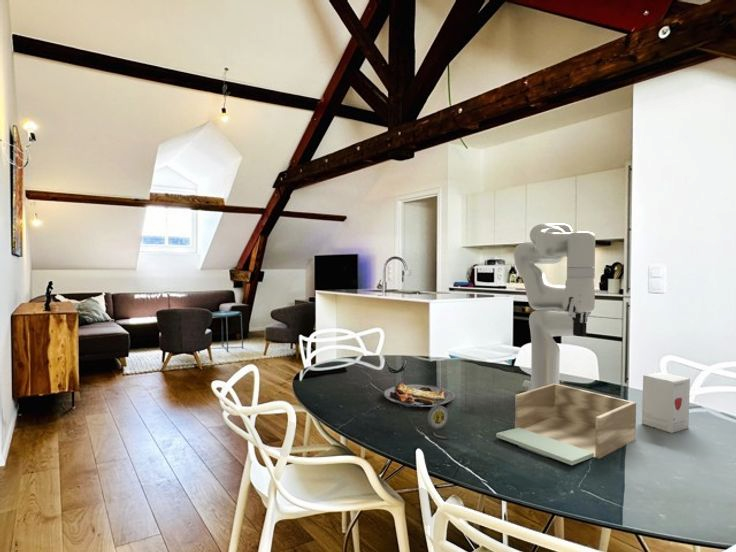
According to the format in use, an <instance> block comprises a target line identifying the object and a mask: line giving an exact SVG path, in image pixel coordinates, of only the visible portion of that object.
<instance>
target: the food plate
mask: <svg viewBox="0 0 736 552" xmlns="http://www.w3.org/2000/svg"><path fill="white" fill-rule="evenodd" d="M382 393H383V397H384V398H385V399H387V400H389V401H390V402H394V403H397V404H400V405H402V406H403V407H406V408H408V407H414V408H417V407H420V408H423V407H424V408H425V407H426V408H427V407H430V408H433V407H435V406H437V403H435V402H438V400H440V401H441V399H442V401H441V402H440V404H439V405H444V404H447V403H450V402H451V401H453V400H454V399H455V398H456V395H455V393H454V392H453V391H451V390H449V389H446V388H443V387H441V386H437V385H429V384H404V383H403V382H398V384H397V386H391V387H389V388H386V389H385V390H384V391H383V392H382ZM436 397H440V398H441V399H440V398H436ZM435 398H436V399H435ZM434 399H435V402H434ZM424 403H425V404H426V403H427V405H425V404H424ZM414 404H416V405H414ZM420 404H421V405H420ZM431 404H432V405H431Z"/></svg>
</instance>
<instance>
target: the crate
mask: <svg viewBox="0 0 736 552" xmlns="http://www.w3.org/2000/svg"><path fill="white" fill-rule="evenodd" d="M514 398H515V401H514V402H515V404H514V405H515V406H514V409H515V410H514V411H515V412H514V416H515V417H514V428H518V427H519V428H522V429H525V430H528V431H531V432H534V433H537V434H540V435H543V436H546V437H549V438H551V439H554V440H557V441H560V442H563V443H566V444H569V445H572V446H575V447H578V448H581V449H584V450H587V451H590V452H593V453H594V457H593V458H596V459H598V460H599V459H601V458H603V457H605V456H607V455H609V454H611V453H613V452H615V451H617V450H618V449H620V448H622V447H624V446H626V445H627V444H629V443H631V442H632V441H634V440H636V432H637V431H636V430H637V429H636V424H637V402H635V401H632V400H627V399H623V398H618V397H614V396H610V395H605V394H601V393H597V392H592V391H588V390H585V389H580V388H575V387H571V386H567V385H563V384H560V383H559V384H555V383H553V384H550V385H547V386H543V387H540V388H537V389H533V390H530V391H528V390H526V391H525V392H520V393H517V394H515V397H514Z"/></svg>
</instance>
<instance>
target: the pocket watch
mask: <svg viewBox="0 0 736 552" xmlns="http://www.w3.org/2000/svg"><path fill="white" fill-rule="evenodd" d="M436 398H440V397H436ZM436 398H435V399H436ZM435 399H434V402H435ZM440 399H441V398H440ZM441 402H442V399H441V400H440V401H439V400H438V402H435V403H437V406H434V407H431V408H430V410H429V412H428V414H427V421H428V425H429V426H430V427H431V428H433V429H434V431H437V430H440V429H443V427H445V425H447V422H448V420H449V411H448V410H447V408H446V407H444V406H443V405H441V404H440V403H441ZM432 434H433V436H434V437H436V438H438V439H442V440H449V437H452V436H449V437H447V436H443V435H441V434H438V433H436V432H432Z"/></svg>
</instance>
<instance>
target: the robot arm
mask: <svg viewBox="0 0 736 552" xmlns="http://www.w3.org/2000/svg"><path fill="white" fill-rule="evenodd" d="M529 239H530V241H525V242H521V243H519V244H517V246H516V247H515V248H514V252H513V259H514V263H515V267H516V269H517V272H518V273H519V276H520V277H521V279H522V281H523V284H524V285H523V286H524V289H525V290H524V291H525V293H526V298H527V302H528V305H529V307H530V308H531V309H533V310H534V311H532V312H531V313H530V314H529V316H528V317H529V318H528V325H529V329H530V330H529V331H530V340H531V341H530V343H531V346H530V347H531V349H530V350H531V352H530V353H531V354H530V355H531V359H530V360H531V367H530V370H531V371H530V380H523V381H522V387H525V388H528V389H527V391H530V390H533V389H537V388H540V387H543V386H547V385H550V384H553V383H555V384H559V385H560V372H561V371H560V365H561V364H560V360H561V359H560V356H561V353H560V352H561V350H560V346H559V344H558V343H557V342H556V341H555V339H554V337H573V336H574V337H575V336H578V337H585V336H587V322H588V319H589V317H588V316H590V315H591V314H592V311H594V310H595V304H596V301H595V299H596V298H595V297H596V295H595V282H594V280H595V277H596V276H595V275H596V274H595V273H596V272H595V271H596V234H595V233H593V232H590V231H573V229H572V227H571V226H570V225H569V224H566V223H539V224H536V225H534V226H533V227H532V228H531V230H530V232H529ZM563 258H566V279H565V284H564V285H561V284H550V283H549V282H548V277H547V275H546V273H545V272H544V271H543V270H542V269H541V268H540V267H538V266H537V265H536V264H538V265H539V264H541V265H543V264H544V265H545V264H549V265H551V264H553V265H555V264H558V263H560V262H561V261H562V260H563Z"/></svg>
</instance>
